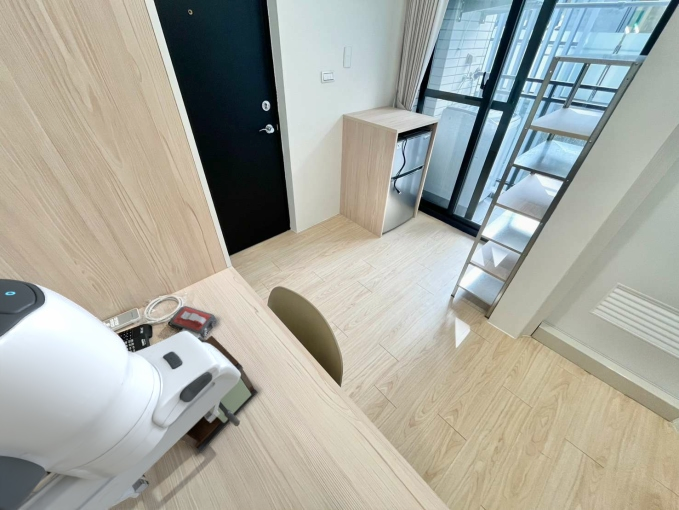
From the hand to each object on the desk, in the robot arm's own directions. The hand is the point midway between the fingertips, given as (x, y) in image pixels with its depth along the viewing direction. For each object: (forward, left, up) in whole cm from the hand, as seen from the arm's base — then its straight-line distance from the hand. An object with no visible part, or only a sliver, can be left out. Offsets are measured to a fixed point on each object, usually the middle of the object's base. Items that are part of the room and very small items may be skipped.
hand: (179, 447), depth 34 cm
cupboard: (+5, +17, -31) cm, 36 cm away
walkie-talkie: (+14, +38, -31) cm, 51 cm away
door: (+8, +9, -30) cm, 32 cm away
